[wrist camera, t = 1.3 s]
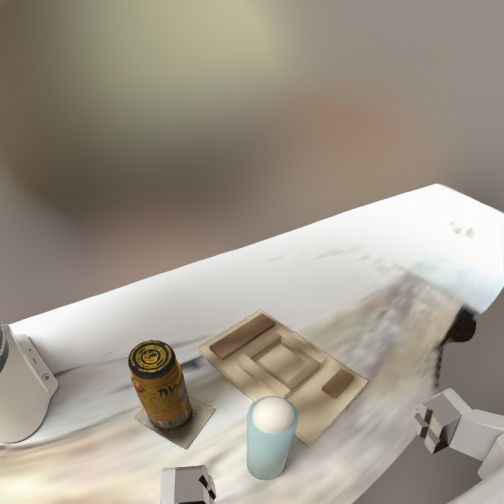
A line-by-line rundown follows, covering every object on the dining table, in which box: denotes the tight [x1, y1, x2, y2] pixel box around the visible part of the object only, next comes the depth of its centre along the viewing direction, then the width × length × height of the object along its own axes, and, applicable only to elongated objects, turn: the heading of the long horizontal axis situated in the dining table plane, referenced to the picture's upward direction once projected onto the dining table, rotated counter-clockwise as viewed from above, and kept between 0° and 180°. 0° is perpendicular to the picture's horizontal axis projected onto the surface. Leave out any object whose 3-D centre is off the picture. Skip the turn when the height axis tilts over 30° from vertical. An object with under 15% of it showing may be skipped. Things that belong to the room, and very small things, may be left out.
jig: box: [198, 310, 368, 446], centre depth 43 cm, size 22×13×3 cm, turn 44°
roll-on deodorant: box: [247, 396, 299, 480], centre depth 28 cm, size 4×4×15 cm
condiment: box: [128, 340, 215, 449], centre depth 34 cm, size 7×8×12 cm
